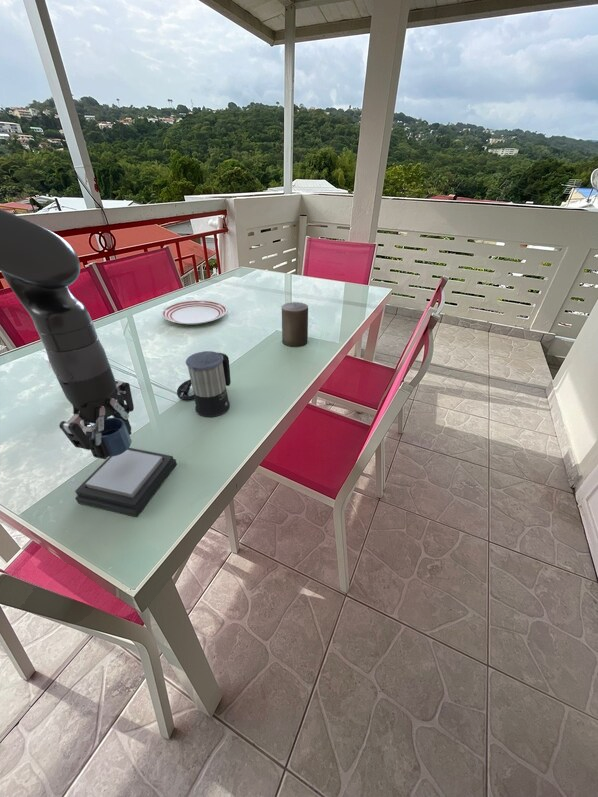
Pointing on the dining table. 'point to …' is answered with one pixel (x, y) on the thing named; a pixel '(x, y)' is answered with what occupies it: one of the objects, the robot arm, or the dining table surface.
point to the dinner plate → (194, 312)
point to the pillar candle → (294, 324)
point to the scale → (120, 502)
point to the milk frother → (207, 383)
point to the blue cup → (115, 436)
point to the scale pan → (125, 473)
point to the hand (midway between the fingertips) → (114, 445)
